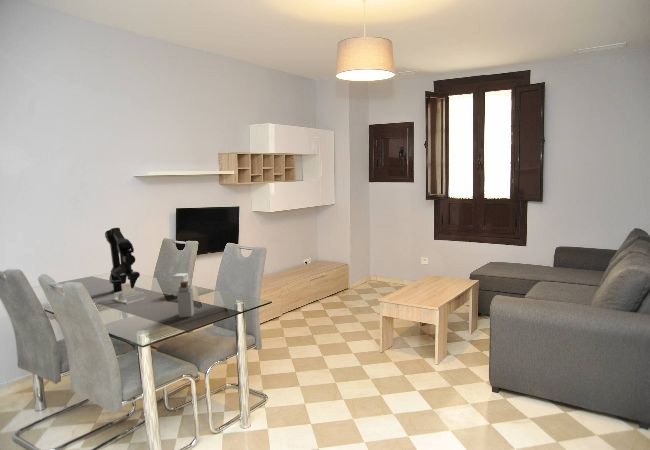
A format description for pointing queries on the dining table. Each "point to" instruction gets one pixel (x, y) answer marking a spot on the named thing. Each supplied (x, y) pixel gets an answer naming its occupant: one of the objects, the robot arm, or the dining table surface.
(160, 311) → the dining table surface
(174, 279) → the supplement box
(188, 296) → the perfume bottle
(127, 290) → the cream rectangular tile
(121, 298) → the rack
